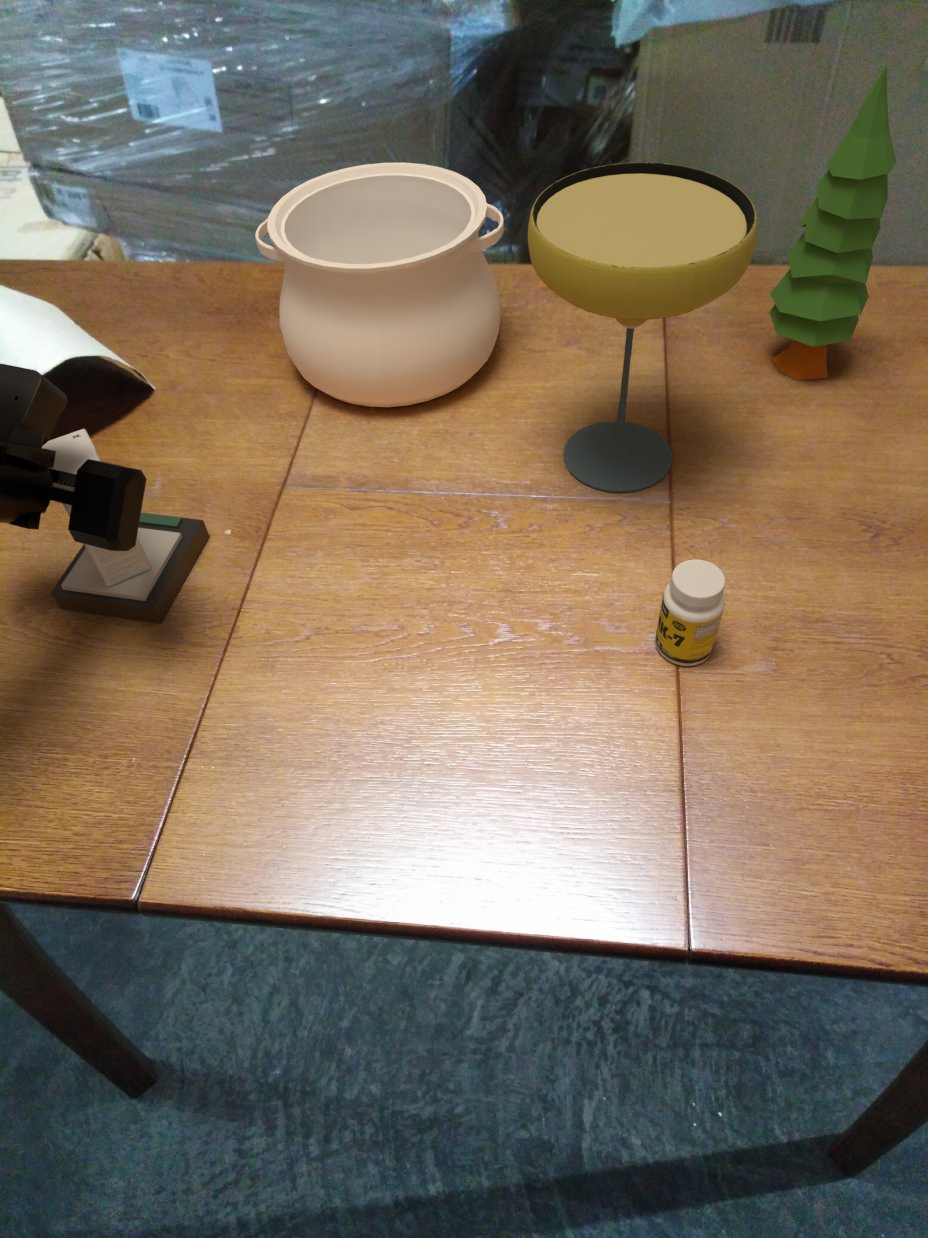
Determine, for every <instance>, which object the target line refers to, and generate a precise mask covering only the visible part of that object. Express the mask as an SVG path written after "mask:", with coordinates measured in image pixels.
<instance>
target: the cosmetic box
mask: <svg viewBox="0 0 928 1238" xmlns="http://www.w3.org/2000/svg"><path fill="white" fill-rule="evenodd" d="M42 448H45V449H49V450H54V451H56V455H55V461H54V467H53V468H52V469H56V470H60V471H64V472H69V473H73V474H77V470H78V469H79V468H80V467H81V466H82V465H83V464H84V462H85V461H86V460H87V459H91V460H97V461H102V460H101V458H100V456H99V454H98V452H97V449H96V448H95V445H94V442H93V441H92V439H91V437H90V435H89V433H88V431H87V429H86V428H81V429H79V430H76V431H72V432H70V433H67V434H64V435H61V436H59V437H56V438H53V439H49V440H48V442H47V443H46V444H45V445H43V446H42ZM53 486H57V487H61V488H65V489H69V490H73V491H74V488H75V487H70V486H66V485H62V484H57V483H53ZM61 504H62V506H63V508H64V510H65V511H66V513H67V515H68V518H70V513H71V507H72V505H68V504H64V503H61ZM84 545H85V547H86V549H87V551H88V553H89V554H90V556H91V558H92V560H93V562H94V564H95V566H96V567H97V569H98V571H99V573H100V575H101V577H102V578H103V580H104V582H105V584H106V585H107V586H112V585H114V584H116V583H119V582H121V581H123V580H126V579H128V578H131V577H133V576H135V575H138V574H140V573H143V572H145V571H148V570H150V569H151V565H150V563H149V561H148V558H147V556H146V554H145V552H144V549H143V547H142V545H141V543H140V541H139V539H138V537H137V539H136V545H135V546H134V547H133V548H132V549H130V550H129V551H110V550H107V549H103V548H99V547H95V546H91V545H87V544H84Z"/></svg>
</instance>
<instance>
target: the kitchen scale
mask: <svg viewBox="0 0 928 1238" xmlns="http://www.w3.org/2000/svg"><path fill="white" fill-rule="evenodd" d="M137 537H138V539H139V541H140V543H141V545H142V547H143V549H144V552H145V554H146V556H147V558H148V561H149V563H150V565H151V569H150V570H148V571H145V572H143V573H140V574H138V575H135V576H133V577H131V578H128V579H126V580H123V581H121V582H119V583H116V584H114V585H112V586H107V585H106V584H105V582H104V580H103V578H102V577H101V575H100V573H99V571H98V569H97V567H96V566H95V564H94V562H93V560H92V558H91V556H90V554H89V553H88V551H87V549H86V547H85V545H84V544H83V543H82V545H81V547H80V549H79V550H78V551H77V553H76V554H75V556H74V557H73V559H72V560H71V561H70V564H69V565H68V566H67V568H66V570H65V571H64V572H63V574H62V575H61V577H60V578H59V579H58V582H57V583H56V584H55V586H54V587H53V588H52V590H51V592H50V594H51V597H52V598H53V599H54V601H55V603H56V604H57V606H58V607H59V609H61V610H66V611H73V612H79V613H80V612H81V613H87V614H95V615H102V616H108V617H116V618H120V619H121V618H122V619H127V620H128V619H129V620H135V621H143V622H149V623H157V624H162V622H163V621H164V619H165V617H166V616H167V614H168V612H169V610H170V608H171V607H172V605H173V603H174V601H175V600H176V597H177V596H178V594H179V592H180V591H181V589H182V587H183V586H184V583H185V581H186V579H187V578H188V576H189V574H190V573H191V570H192V569H193V567H194V565H195V563H196V561H197V560H198V558H199V556H200V555H201V553H202V551H203V549H204V547H205V546H206V544H207V542H208V540H209V538H210V534H209V532H208V529H207V526H206V523H205V521H204V519H197V518H190V517H180V516H174V515H173V516H172V515H165V514H157V513H148V512H141V515H140V521H139V527H138V533H137Z"/></svg>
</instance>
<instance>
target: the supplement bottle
mask: <svg viewBox="0 0 928 1238" xmlns="http://www.w3.org/2000/svg"><path fill="white" fill-rule="evenodd" d="M725 585H726V577H725V575H724V572H723V571H722V570H721V568H719V566H717V565H716V564H715V563H712V562H711V561H707V560H703V559H699V558H698V559H696V558H694V559H688V560H684V561H682V562H680V563H679V564H677V565H676V566H675V567H674V569H673V571H672V573H671V577H670V579H669V582H668V583H667V585H666V586H665V588H664V590H663V594H662V599H661V605H660V610H659V615H658V621H657V626H656V631H655V640H654V641H655V642H654V643H655V647H656V649H657V651H658V653H659V654H660V655H661V656H662V657H663V658H664V659H665V660H666V661H668V662H670V663H671V664H674V665H677V666H681V667H693V666H697V665H700V664H702V663H704V662H705V661H706V660H707V659H709V657H710V656H711V654H712V653H713V650H714V647H715V643H716V639H717V636H718V632H719V629H720V624H721V621H722V617H723V614H724V610H725V605H726V604H725V603H726V597H725V593H724V591H725V590H724V589H725Z"/></svg>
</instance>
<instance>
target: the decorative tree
mask: <svg viewBox="0 0 928 1238" xmlns="http://www.w3.org/2000/svg"><path fill="white" fill-rule="evenodd" d="M896 164H897V158H896V154H895V149H894V145H893V140H892V137H891V132H890V122H889V105H888V64H885V66H884V68H882V71H881V73H880V74H879V76H878V77H877V79H876V81H875V82H874V84H873V85H872V87H871V88H870V90H869V92H868V93H867V95H866V97H865V99H864V101H863V103H862V105H861V106H860V109H859V111H858V113H857V114H856V117H855V119H854V121H853V123H852V124H851V127H850V128H849V130H848V132H847V133H846V135H845V136H844V138H843V139H842V141H841V143H840V144H839V145H838V147H837V148H836V149H835V151H834V153H833V154H832V156H831V157H830V159H829V160H828V162H827V163H826V165H825V166H826V167H827V170H826V171H825V173H824V174H823V176H822V177H821V178H820V180H819V181H818V183H817V184H816V195H817V196H816V198H815V199H814V201H812V203H811V205H810V206H809V207H808V209H807V210H806V212H805V213H804V214H803V215H802V217H801V218H800V220H799V221H798V223H799V225H800V226H799V227H800V228H801V227H802V228H804V231H803V232H802V234H801V235H800V237H799V238H798V239H797V240H796V242H795V243H794V245H793V246H792V248H791V249H790V251H788V253H787V254H786V257H787V262H788V266H789V269H788V270H787V272H786V273H785V274H784V275H783V276H782V278H781V279H780V280H779V282H778V283H777V284H776V285H775V287H774V288H773V289H772V290H771V292H770V293H769V294H770V296H771V298H772V300H773V303H774V305H773V306H772V308H771V309H770V311H769V316H770V319H771V322H772V324H773V327H774V330H775V333H776V335H779V336H780V337H781V336H782V337H783V338H784V337H785V338H787V339H790V340H792V342H791V344H790V345H789V346H788V347H787V348H785V349H784V350H782V351H780V353H778V354H777V355H776V356H774V357H773V358H772V359H771V360H772V362H773V364H774V365H775V367H776V368H777V370H778V371H779V372H780V373H782V374H784V375H786V376H788V377H790V378H792V379H794V380H796V381H806V380H820V379H822V380H823V379H829V373H828V362H827V353H828V349H827V345H830V344H831V345H833V344H838V343H843V342H849V341H851V340H852V337H853V335H854V333H855V331H856V327H857V325H858V322H859V321H860V319H859V318H860V317H859V316H861V315H862V313H863V311H864V308H865V306H866V304H867V302H868V300H869V296H870V295H869V292H868V288H867V282H868V279H869V278H868V277H869V273H870V270H871V267H872V263H873V258H874V255H873V249H872V248H873V246H874V244H875V241H876V240H877V237H878V235H879V233H880V230H881V218H882V217H883V214H884V211H885V208H886V205H887V202H888V199H889V192H888V191H889V190H888V189H889V186H888V184H889V181H888V176H889V175H888V174H890V172H891V171H892V169H894V166H895V165H896Z"/></svg>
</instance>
